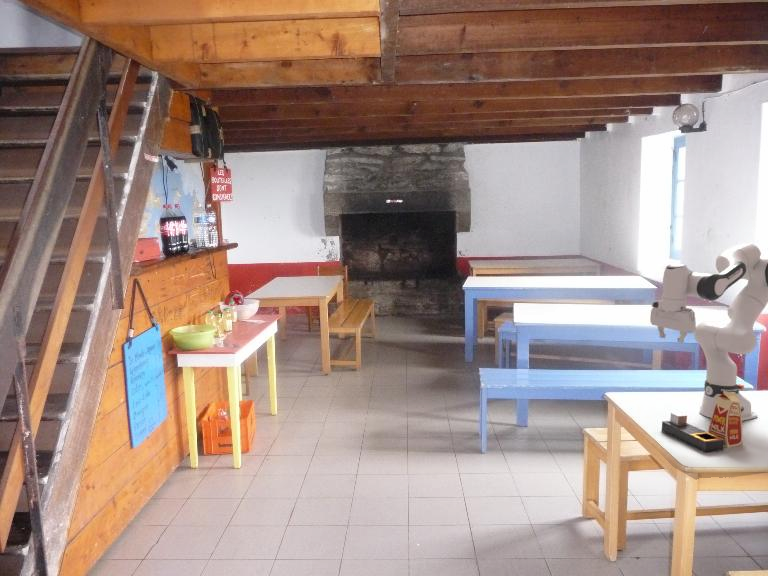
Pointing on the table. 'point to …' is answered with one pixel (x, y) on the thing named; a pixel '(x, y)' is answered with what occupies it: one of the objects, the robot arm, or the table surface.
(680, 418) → the grey square block
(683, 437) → the box with square holes
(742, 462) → the table surface
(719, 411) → the milk carton
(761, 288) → the robot arm
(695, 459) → the table surface
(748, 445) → the table surface
